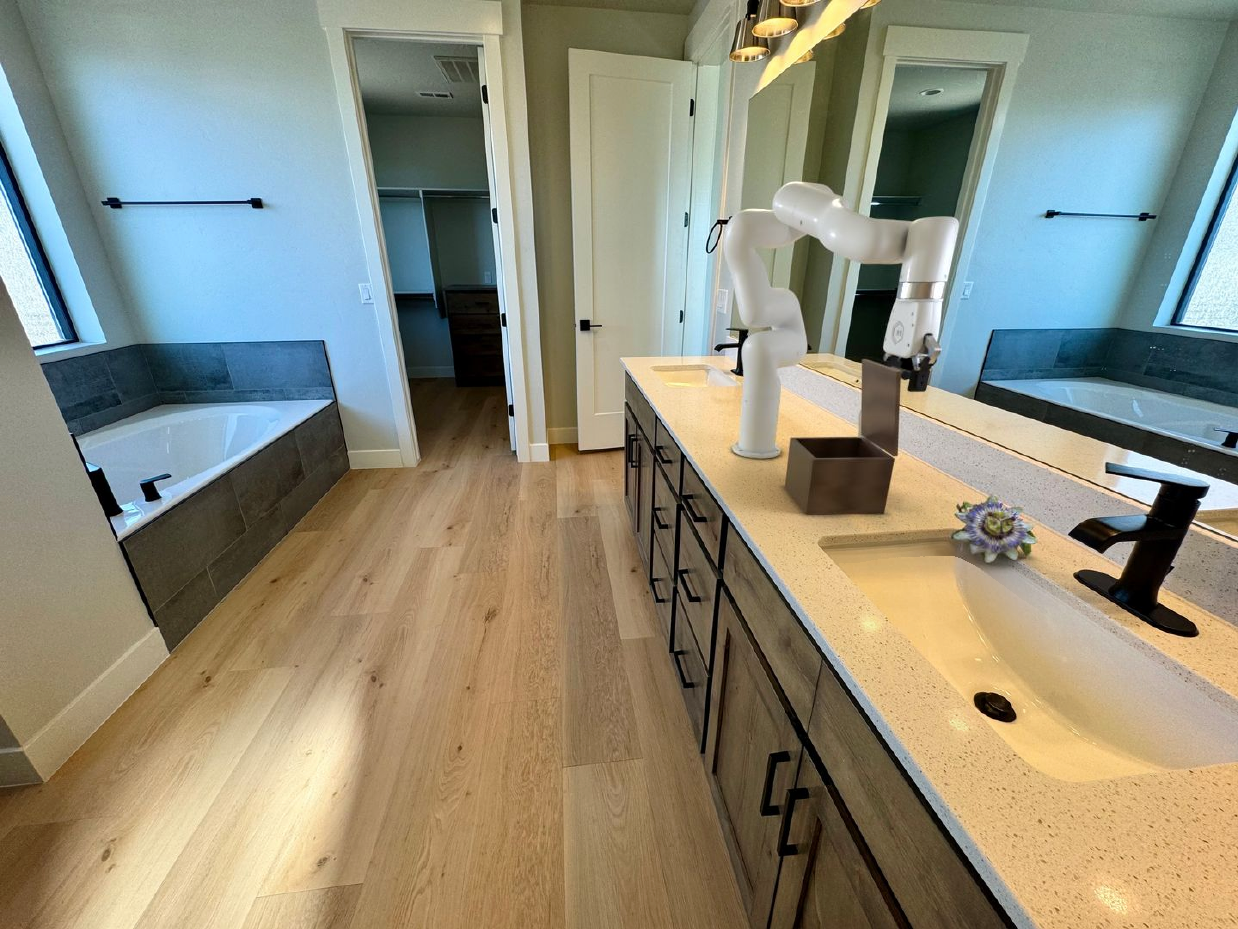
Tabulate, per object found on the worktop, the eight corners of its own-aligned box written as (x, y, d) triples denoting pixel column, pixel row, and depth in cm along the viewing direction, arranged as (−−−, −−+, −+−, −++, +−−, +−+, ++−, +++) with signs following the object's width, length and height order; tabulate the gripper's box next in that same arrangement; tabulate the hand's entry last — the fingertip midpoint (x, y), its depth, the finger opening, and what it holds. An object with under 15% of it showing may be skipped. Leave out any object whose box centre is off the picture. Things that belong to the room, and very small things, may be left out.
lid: (896, 371, 88) (925, 367, 87) (861, 359, 100) (886, 355, 100) (893, 456, 94) (920, 452, 93) (861, 434, 106) (884, 431, 106)
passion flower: (979, 588, 83) (951, 540, 80) (957, 546, 92) (931, 501, 89) (1059, 566, 78) (1033, 513, 74) (1027, 524, 87) (1002, 474, 83)
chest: (805, 514, 98) (813, 459, 94) (784, 487, 111) (790, 437, 107) (884, 513, 98) (895, 458, 94) (853, 486, 111) (862, 436, 106)
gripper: (876, 291, 97) (862, 377, 104) (927, 295, 81) (907, 396, 88) (914, 291, 97) (898, 377, 104) (973, 294, 81) (949, 396, 87)
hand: (902, 385), depth 96 cm, fingers open, 9 cm apart
